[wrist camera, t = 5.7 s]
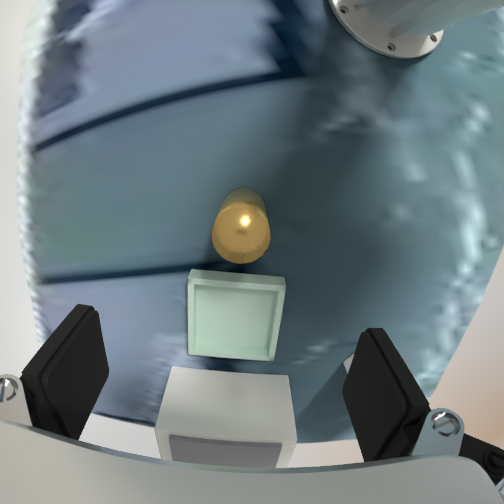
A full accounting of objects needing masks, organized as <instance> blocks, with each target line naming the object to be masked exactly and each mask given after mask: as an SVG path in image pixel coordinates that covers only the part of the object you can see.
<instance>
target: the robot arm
mask: <svg viewBox="0 0 504 504" xmlns="http://www.w3.org/2000/svg"><path fill="white" fill-rule="evenodd" d="M329 3H330V6H331V8H332V11H333V13H334V14H335V16H336V18H337V19H338V21H339V22H340V23H341V25H342V26H343V27H344V28H345V29H346V30H347V32H348V33H350V34H351V35H352V36H353V37H354V38H355V39H356V40H357V41H359V42H360V43H362V44H363V45H365V46H366V47H368V48H370V49H372V50H374V51H376V52H378V53H380V54H383V55H386V56H389V57H393V58H399V59H412V58H416V57H420V56H422V55H425V54H428V53H429V52H431V51H432V50H433V49H435V48H436V46H437V45H438V44H439V43H440V41H441V38H442V36H443V32H444V29H446V28H448V27H450V26H453V25H455V24H458V23H460V22H463V21H465V20H468V19H471V18H473V17H476V16H479V15H481V14H484V13H487V12H490V11H492V10H495V9H498V8H501V7H504V0H329ZM341 11H343V12H344V13H342V12H341ZM388 47H389V49H390V50H389V49H388ZM108 375H109V367H108V362H107V357H106V352H105V347H104V342H103V337H102V331H101V325H100V319H99V314H98V312H97V311H95V310H94V307H92V306H88V305H82V304H78V305H76V306H75V308H74V309H73V310H72V311H71V312H70V313H69V314H68V316H67V317H66V318H65V319H64V320H63V321H62V323H61V324H60V325H59V326H58V327H57V329H56V330H55V331H54V332H53V333H52V335H51V336H50V337H49V338H48V339H47V341H46V342H45V343H44V344H43V346H42V347H41V348H40V349H39V351H38V352H37V353H36V354H35V356H34V357H33V358H32V359H31V361H30V362H29V363H28V365H27V366H26V367H25V368H24V370H23V371H22V376H21V377H20V378H17V377H16V376H14V375H8V374H6V375H0V504H504V450H502V449H500V448H499V447H496V446H494V445H491V444H489V443H486V442H484V441H481V440H479V439H476V438H474V437H472V436H469V435H467V434H465V433H464V423H463V420H462V419H461V418H460V416H459V415H457V414H456V413H455V412H453V411H451V410H449V409H444V408H437V409H434V410H432V411H431V409H430V407H429V403H428V401H427V399H426V397H425V396H424V394H423V392H422V390H421V389H420V387H419V385H418V384H417V382H416V380H415V379H414V377H413V375H412V374H411V372H410V370H409V369H408V367H407V365H406V364H405V362H404V361H403V359H402V357H401V356H400V354H399V353H398V351H397V349H396V348H395V346H394V345H393V343H392V341H391V340H390V338H389V337H388V335H387V334H386V332H385V330H384V329H383V328H368V329H366V331H365V332H362V333H361V335H360V338H359V341H358V344H357V347H356V350H355V354H354V357H353V360H352V363H351V365H350V368H349V371H348V374H347V377H346V380H345V383H344V385H343V397H344V400H345V403H346V406H347V409H348V412H349V415H350V418H351V421H352V424H353V428H354V431H355V434H356V437H357V440H358V443H359V446H360V449H361V453H362V456H363V459H364V462H363V463H354V464H344V465H333V466H320V467H303V468H302V467H301V468H246V467H227V466H214V465H203V464H193V463H185V462H178V461H171V460H164V459H158V458H152V457H146V456H141V455H136V454H131V453H126V452H122V451H117V450H113V449H109V448H105V447H101V446H97V445H93V444H90V443H85V442H82V441H78V440H79V438H80V435H81V433H82V431H83V429H84V426H85V424H86V422H87V420H88V417H89V415H90V413H91V411H92V409H93V407H94V405H95V403H96V401H97V398H98V396H99V394H100V392H101V390H102V388H103V386H104V384H105V382H106V380H107V378H108Z"/></svg>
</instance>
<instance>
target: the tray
mask: <svg viewBox="0 0 504 504" xmlns="http://www.w3.org/2000/svg"><path fill="white" fill-rule="evenodd" d="M285 291H286V283H285V278H284V277H281V276H268V275H255V274H243V273H231V272H219V271H207V270H196V269H191V271H190V274H189V276H188V354H192V355H201V356H211V357H222V358H234V359H248V360H265V361H274V357H275V351H276V345H277V340H278V334H279V328H280V322H281V316H282V310H283V303H284V297H285Z"/></svg>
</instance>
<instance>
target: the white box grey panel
mask: <svg viewBox="0 0 504 504" xmlns="http://www.w3.org/2000/svg"><path fill="white" fill-rule="evenodd" d="M155 434H156V438H157V443H158V447H159V451H160V455H161V459H164V460H171V461H178V462H185V463H193V464H203V465H214V466H227V467H246V468H287V466H288V464H289V461H290V459H291V456H292V453H293V451H294V448H295V445H296V442H297V434H296V426H295V419H294V412H293V405H292V398H291V391H290V384H289V378H288V375H271V374H251V373H237V372H224V371H213V370H203V369H193V368H185V367H177V366H172V368H171V372H170V375H169V379H168V382H167V386H166V389H165V393H164V396H163V400H162V403H161V407H160V410H159V414H158V418H157V421H156V425H155Z"/></svg>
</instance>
